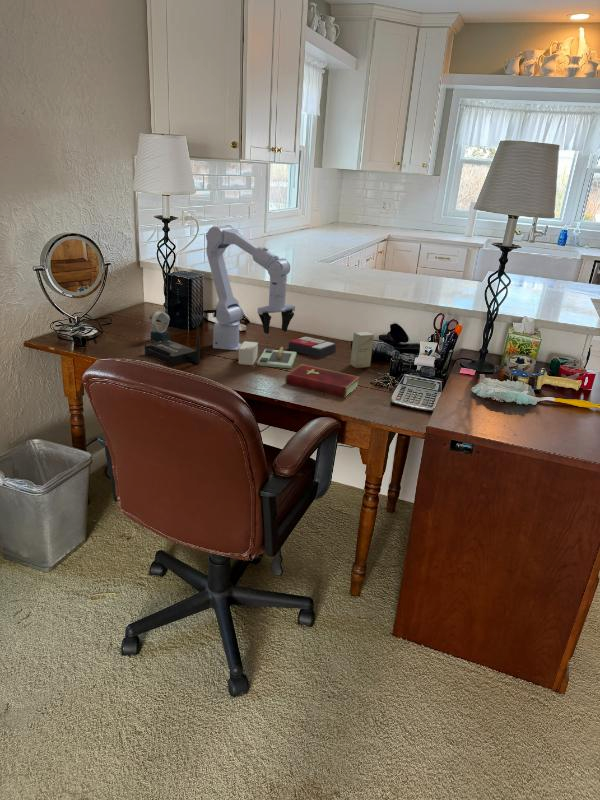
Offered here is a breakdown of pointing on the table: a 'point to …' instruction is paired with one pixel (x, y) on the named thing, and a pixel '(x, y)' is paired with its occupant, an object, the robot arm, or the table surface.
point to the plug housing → (248, 353)
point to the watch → (161, 334)
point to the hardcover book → (322, 380)
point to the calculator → (312, 347)
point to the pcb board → (277, 358)
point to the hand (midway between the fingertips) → (275, 332)
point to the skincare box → (362, 349)
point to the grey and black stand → (174, 351)
